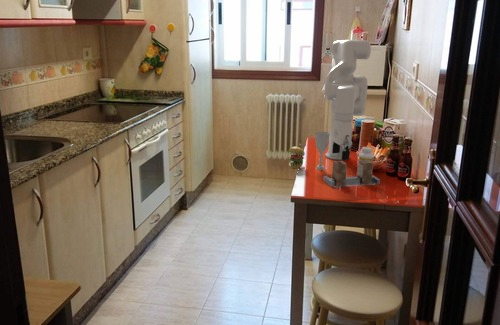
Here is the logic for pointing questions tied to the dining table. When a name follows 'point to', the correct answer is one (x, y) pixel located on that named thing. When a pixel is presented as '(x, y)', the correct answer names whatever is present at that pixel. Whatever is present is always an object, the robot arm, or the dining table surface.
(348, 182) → the rail
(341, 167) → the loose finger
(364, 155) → the supplement bottle
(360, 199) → the dining table surface
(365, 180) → the mounted finger
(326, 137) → the chalice
